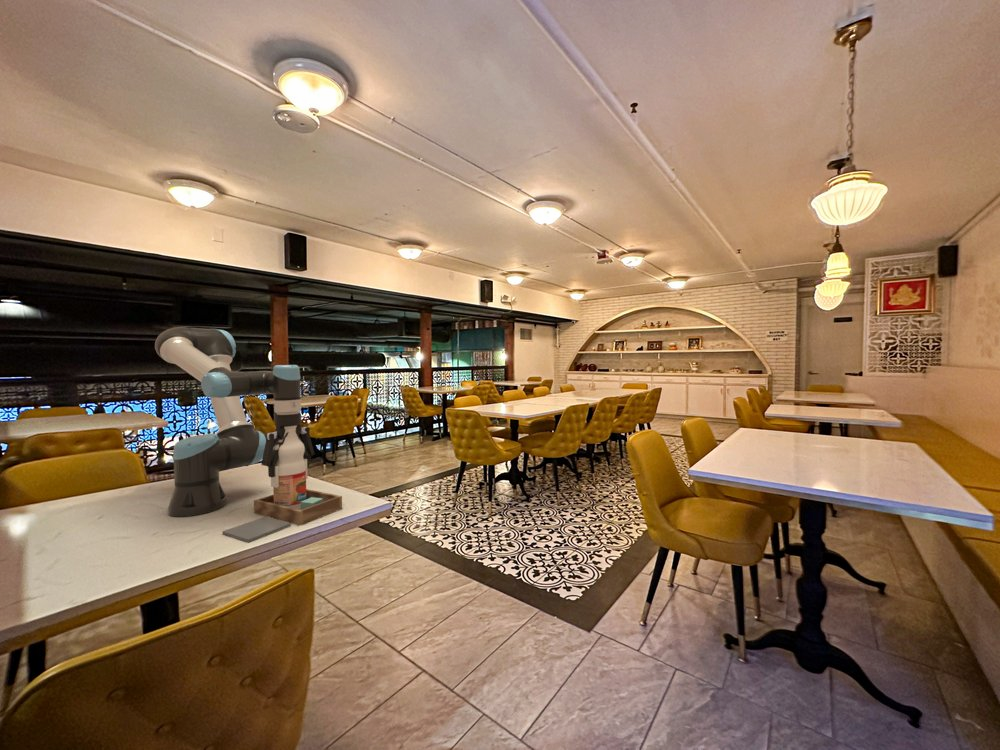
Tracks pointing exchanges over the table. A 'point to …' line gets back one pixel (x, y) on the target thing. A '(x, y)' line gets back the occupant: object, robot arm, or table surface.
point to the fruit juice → (291, 471)
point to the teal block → (310, 502)
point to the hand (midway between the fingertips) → (289, 482)
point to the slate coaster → (256, 529)
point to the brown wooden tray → (295, 515)
